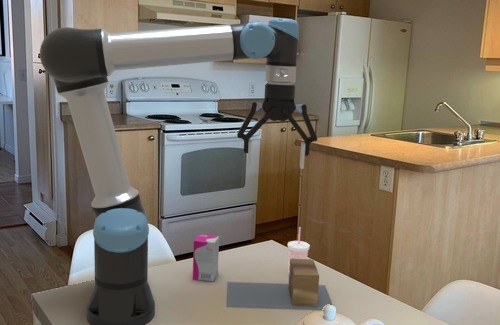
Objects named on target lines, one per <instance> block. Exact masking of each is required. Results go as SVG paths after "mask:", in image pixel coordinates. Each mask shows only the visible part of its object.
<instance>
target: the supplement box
mask: <svg viewBox="0 0 500 325" xmlns="http://www.w3.org/2000/svg"><path fill="white" fill-rule="evenodd" d="M192 249H193V251H192V253H193V255H192V256H193V257H192V280H193V281H200V282H205V283H206V282H208V283H214V282H215V280H216V278H217V277H218V275H219V255H220V254H219V252H220V251H219V249H220V236H219V235H211V234H202V233H201V234H198V235H197V236H196V238H195V239H194V240H193V248H192Z"/></svg>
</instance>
